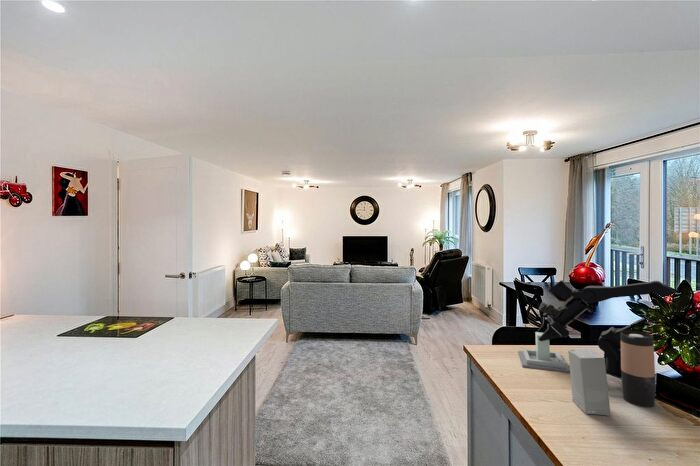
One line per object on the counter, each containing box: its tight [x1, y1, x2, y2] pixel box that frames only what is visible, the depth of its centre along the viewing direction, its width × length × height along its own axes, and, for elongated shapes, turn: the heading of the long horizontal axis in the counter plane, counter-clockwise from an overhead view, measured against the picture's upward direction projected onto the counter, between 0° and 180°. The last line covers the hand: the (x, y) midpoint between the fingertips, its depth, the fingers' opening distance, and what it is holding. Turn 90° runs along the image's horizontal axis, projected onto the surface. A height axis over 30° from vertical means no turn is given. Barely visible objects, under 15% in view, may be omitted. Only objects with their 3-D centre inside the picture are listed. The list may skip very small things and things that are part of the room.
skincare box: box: [567, 349, 611, 416], centre depth 96 cm, size 8×7×16 cm
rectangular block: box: [534, 331, 551, 361], centre depth 130 cm, size 4×5×10 cm
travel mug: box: [621, 331, 656, 408], centre depth 99 cm, size 8×8×20 cm
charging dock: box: [517, 348, 570, 373], centre depth 130 cm, size 16×16×2 cm
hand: (538, 337), depth 131 cm, fingers open, 7 cm apart
